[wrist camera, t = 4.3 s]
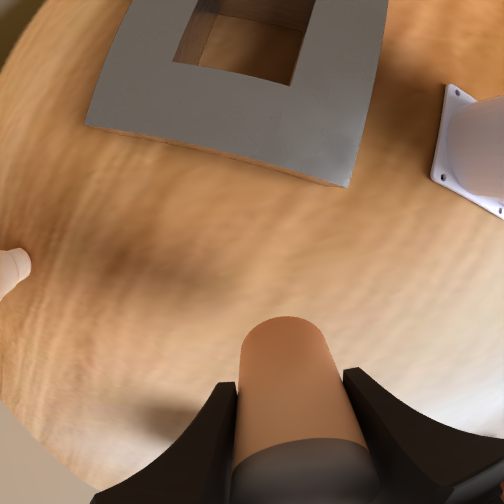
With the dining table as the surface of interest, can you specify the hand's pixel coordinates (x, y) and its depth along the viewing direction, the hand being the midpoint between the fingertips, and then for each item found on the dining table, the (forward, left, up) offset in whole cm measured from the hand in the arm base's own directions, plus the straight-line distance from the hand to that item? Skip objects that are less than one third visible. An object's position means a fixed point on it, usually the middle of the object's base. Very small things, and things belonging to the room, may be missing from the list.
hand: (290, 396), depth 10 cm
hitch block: (+6, -15, -10) cm, 19 cm away
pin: (0, 0, -3) cm, 3 cm away
